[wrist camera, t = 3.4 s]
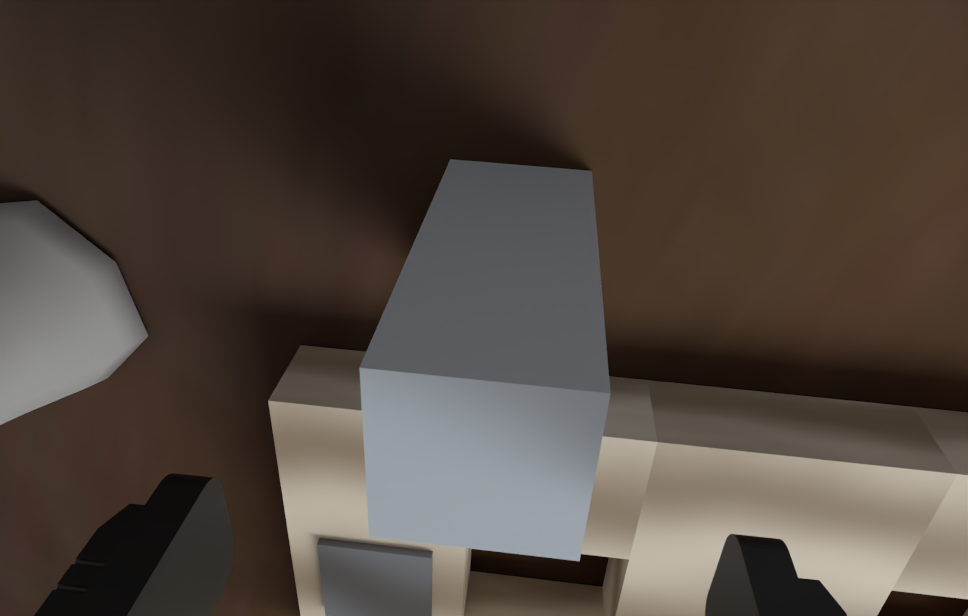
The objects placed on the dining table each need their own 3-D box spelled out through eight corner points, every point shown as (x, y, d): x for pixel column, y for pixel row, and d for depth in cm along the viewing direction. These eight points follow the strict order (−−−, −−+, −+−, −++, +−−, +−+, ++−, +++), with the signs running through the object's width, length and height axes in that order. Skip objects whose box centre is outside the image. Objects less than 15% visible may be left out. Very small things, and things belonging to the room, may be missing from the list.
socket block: (300, 344, 23) (264, 407, 21) (1301, 446, 21) (1412, 530, 19) (332, 627, 32) (309, 699, 29) (1053, 719, 30) (1103, 806, 27)
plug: (450, 159, 19) (359, 367, 11) (591, 170, 19) (609, 393, 11) (447, 281, 22) (369, 536, 13) (574, 293, 21) (579, 561, 13)
